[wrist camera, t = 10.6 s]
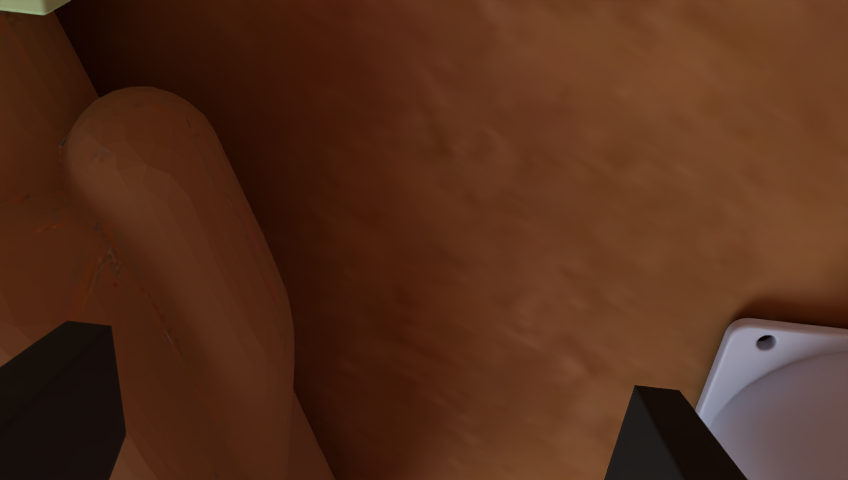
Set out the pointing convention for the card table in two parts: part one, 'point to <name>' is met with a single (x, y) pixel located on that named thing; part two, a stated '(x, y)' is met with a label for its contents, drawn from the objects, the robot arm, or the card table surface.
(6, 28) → the toy
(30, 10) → the felt cube
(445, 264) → the card table surface
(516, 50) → the card table surface
